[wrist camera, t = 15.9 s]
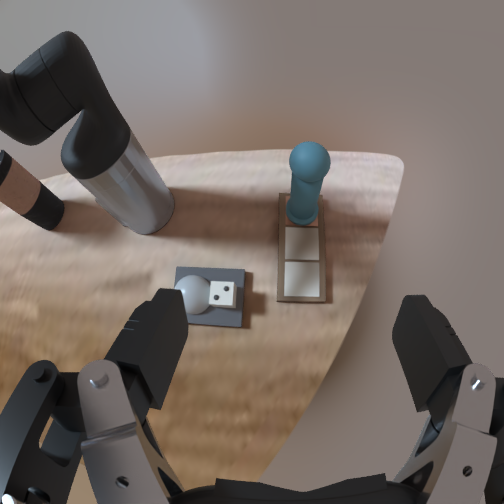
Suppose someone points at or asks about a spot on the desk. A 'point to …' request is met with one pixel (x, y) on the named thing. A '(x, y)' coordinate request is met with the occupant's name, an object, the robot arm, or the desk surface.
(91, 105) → the robot arm
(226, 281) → the die tray
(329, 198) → the desk surface
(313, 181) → the pawn
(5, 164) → the travel mug
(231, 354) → the desk surface
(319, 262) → the track board
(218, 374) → the desk surface
